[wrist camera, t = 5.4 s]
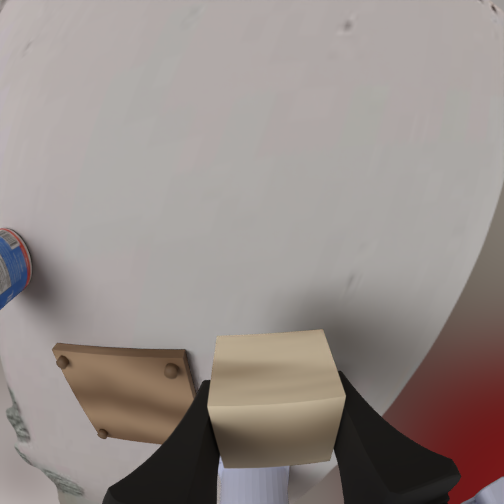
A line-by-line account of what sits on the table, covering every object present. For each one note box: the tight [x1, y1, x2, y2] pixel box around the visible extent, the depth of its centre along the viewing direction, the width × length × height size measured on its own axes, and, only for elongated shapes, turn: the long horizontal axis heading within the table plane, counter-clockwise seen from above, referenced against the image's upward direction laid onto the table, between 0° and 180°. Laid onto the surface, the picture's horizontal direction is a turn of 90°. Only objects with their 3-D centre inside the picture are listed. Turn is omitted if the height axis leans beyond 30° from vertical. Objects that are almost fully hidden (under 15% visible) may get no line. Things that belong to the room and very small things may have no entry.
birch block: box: [207, 329, 346, 468], centre depth 11 cm, size 4×4×4 cm
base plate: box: [52, 343, 196, 444], centre depth 23 cm, size 12×12×2 cm
